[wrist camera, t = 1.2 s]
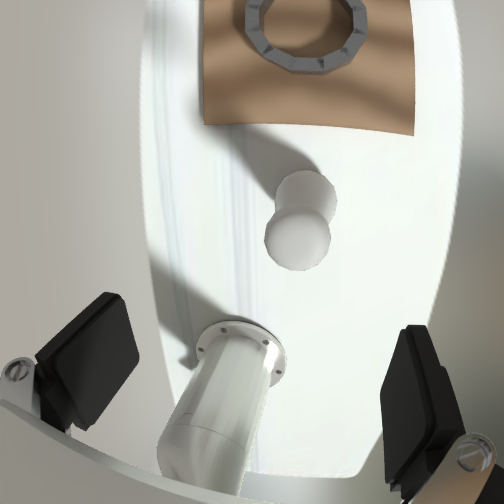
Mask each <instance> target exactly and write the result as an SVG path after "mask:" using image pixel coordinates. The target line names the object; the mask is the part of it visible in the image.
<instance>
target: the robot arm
mask: <svg viewBox="0 0 504 504" xmlns="http://www.w3.org/2000/svg"><path fill="white" fill-rule="evenodd" d="M196 354H197V358H198V360H199V364H198V366H197V368H196V370H195V371H194V373H193V375H192V377H191V379H190V381H189V383H188V385H187V387H186V389H185V391H184V392H183V394H182V396H181V398H180V400H179V402H178V404H177V406H176V408H175V410H174V412H173V413H172V415H171V417H170V419H169V421H168V423H167V425H166V427H165V429H164V431H163V433H162V435H161V436H160V439H159V441H158V445H157V460H158V464H159V467H160V470H161V473H162V476H160V475H157V474H154V473H151V472H149V471H146V470H143V469H140V468H138V467H135V466H133V465H130V464H128V463H125V462H123V461H121V460H118V459H116V458H114V457H111V456H109V455H107V454H105V453H102V452H100V451H98V450H96V449H94V448H92V447H90V446H88V445H86V444H84V443H82V442H80V441H78V440H76V439H74V438H72V437H71V428H70V425H71V424H72V423H74V425H75V426H76V427H78V428H80V429H83V430H84V431H87V429H88V428H89V427H90V425H93V424H95V422H96V421H97V419H98V418H99V417H100V415H101V414H102V413H103V411H104V410H105V408H106V407H107V406H108V404H109V403H110V401H111V400H112V398H113V397H114V396H115V394H116V393H117V392H118V390H119V389H120V387H121V386H122V385H123V383H124V382H125V381H126V379H127V377H129V375H130V374H131V372H132V371H133V370H134V368H135V367H136V366H137V364H138V362H139V352H138V349H137V346H136V342H135V339H134V335H133V332H132V328H131V324H130V321H129V317H128V313H127V309H126V305H125V302H124V300H123V299H122V298H121V296H120V295H119V294H115V293H110V292H104V293H102V294H101V295H100V296H99V297H98V298H97V299H96V300H94V301H93V302H92V303H91V304H90V305H89V306H88V307H86V308H85V309H84V310H83V311H82V312H81V313H80V314H79V315H77V317H75V318H74V319H73V320H72V321H71V322H70V323H69V324H67V325H66V326H65V327H64V328H63V329H62V330H61V331H60V332H59V333H58V334H57V335H56V336H55V337H53V338H52V339H51V340H50V341H49V342H48V343H47V344H46V345H45V346H44V347H43V348H42V349H41V350H40V351H39V352H38V353H37V354H36V355H35V358H36V360H37V362H38V363H37V364H36V365H35V364H34V362H33V361H32V360H31V359H29V358H27V357H19V358H16V359H14V360H12V361H10V362H9V363H8V364H7V365H6V366H5V367H4V368H3V371H2V373H1V377H0V504H282V503H274V502H267V501H261V500H255V499H249V498H244V497H239V494H240V490H241V486H242V483H243V479H244V476H245V472H246V469H247V466H248V462H249V458H250V455H251V452H252V449H253V445H254V442H255V438H256V434H257V431H258V427H259V423H260V420H261V416H262V412H263V409H264V405H265V401H266V397H267V393H268V389H269V387H272V386H274V385H275V384H276V383H278V382H279V381H280V380H281V378H282V377H283V375H284V373H285V369H286V355H285V351H284V349H283V348H282V346H281V344H280V343H279V342H278V341H277V339H276V338H274V337H273V336H272V335H271V334H270V333H268V332H267V331H265V330H263V329H262V328H260V327H257V326H255V325H253V324H249V323H245V322H240V321H223V322H218V323H216V324H213V325H211V326H209V327H208V328H206V329H205V330H204V331H203V333H202V334H201V335H200V337H199V339H198V341H197V345H196ZM380 403H381V414H382V427H383V441H384V462H385V482H386V483H387V484H388V483H390V491H391V492H394V491H401V498H402V499H403V501H402V502H401V503H400V504H504V469H503V468H502V467H500V466H498V465H497V464H495V461H496V450H495V447H494V445H493V444H492V442H491V441H490V440H489V439H488V438H487V437H485V436H484V435H481V434H478V433H468V434H466V432H465V428H464V425H463V421H462V417H461V414H460V410H459V407H458V404H457V400H456V397H455V394H454V391H453V388H452V385H451V382H450V379H449V376H448V373H447V370H446V368H445V367H443V366H441V365H440V363H439V360H438V357H437V354H436V352H435V348H434V346H433V343H432V340H431V338H430V335H429V333H428V330H427V328H426V326H425V325H408V326H407V327H406V329H402V330H401V331H400V334H399V337H398V341H397V344H396V347H395V350H394V353H393V356H392V359H391V362H390V365H389V368H388V371H387V374H386V376H385V379H384V382H383V385H382V387H381V391H380Z"/></svg>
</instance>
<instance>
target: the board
mask: <svg viewBox="0 0 504 504" xmlns="http://www.w3.org/2000/svg"><path fill="white" fill-rule="evenodd" d="M248 1H249V0H204V37H203V93H204V125H209V124H300V125H318V126H333V127H345V128H355V129H365V130H374V131H382V132H389V133H397V134H403V135H410V136H414V123H415V56H414V39H413V26H412V16H411V7H410V0H361V1H362V2H363V4H364V5H365V7H366V10H367V24H368V36H367V38H366V40H365V42H364V44H363V45H362V47H361V48H360V50H359V51H358V53H357V54H356V56H355V57H354V59H353V60H352V62H351V63H350V64H348V65H346V66H344V67H342V68H340V69H337V70H335V71H333V72H331V73H329V74H327V75H324V76H320V75H293V74H291V73H289V72H287V71H286V70H284V69H282V68H280V67H278V66H276V65H274V64H272V63H270V62H268V61H266V60H265V59H264V58H263V57H262V56H261V54H260V53H259V51H258V50H257V48H256V47H255V45H254V44H253V42H252V41H251V39H250V38H249V37H248V35H247V34H246V32H245V5H246V4H247V2H248ZM264 35H265V37H266V38H267V39H268V41H269V42H270V44H271V45H272V47H275V48H277V49H279V50H281V51H283V52H285V53H287V54H289V55H291V56H292V57H304V58H321V57H323V56H325V55H328V54H330V53H332V52H334V51H337V50H339V49H341V48H342V47H343V46H344V44H345V43H346V41H347V40H348V38H349V37H350V35H351V18H350V16H349V15H348V14H347V12H346V11H345V9H344V8H343V7H342V5H341V4H340V3H339V1H337V0H275V1H274V2H273V4H272V5H271V7H270V8H269V10H268V11H267V13H266V14H265V16H264Z"/></svg>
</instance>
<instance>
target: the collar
mask: <svg viewBox="0 0 504 504" xmlns="http://www.w3.org/2000/svg"><path fill="white" fill-rule="evenodd" d="M274 1H275V0H249V1H248V2H247V4H246V5H245V32H246V34H247V35H248V37H249V38H250V39H251V41H252V42H253V44H254V45H255V47H256V48H257V50H258V51H259V53H260V54H261V56H262V57H263V58H264V59H265V60H266V61H268V62H270V63H272V64H274V65H276V66H278V67H280V68H282V69H284V70H286V71H287V72H289V73H291V74H293V75H320V76H324V75H327V74H329V73H331V72H333V71H335V70H337V69H340V68H342V67H344V66H346V65H348V64H350V63H351V62H352V60H353V59H354V57H355V56H356V54H357V53H358V51H359V50H360V48H361V47H362V45H363V44H364V42H365V40H366V38H367V36H368V24H367V10H366V7H365V5H364V4H363V2H362V1H361V0H337V1H339V3H340V4H341V5H342V7H343V8H344V9H345V11H346V12H347V14H348V15H349V16H350V18H351V35H350V37H349V38H348V40H347V41H346V43H345V44H344V46H343V47H342V48H341V49H339V50H337V51H334V52H332V53H330V54H328V55H325V56H323V57H321V58H304V57H292V56H291V55H289V54H287V53H285V52H283V51H281V50H279V49H277V48H275V47H272V45H271V44H270V42H269V41H268V39H267V38H266V37H265V35H264V16H265V14H266V13H267V11H268V10H269V8H270V7H271V5H272V4H273V2H274Z"/></svg>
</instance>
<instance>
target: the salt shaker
mask: <svg viewBox="0 0 504 504" xmlns="http://www.w3.org/2000/svg"><path fill="white" fill-rule="evenodd" d="M336 205H337V196H336V192H335V188H334V186H333V185H332V184H331V183H330V182H329V180H328V179H327V178H326V177H325V176H323V175H321V174H319V173H317V172H315V171H312V170H303V171H296V172H294V173H292V174H290V175H288V176H286V177H284V179H283V180H282V182H281V183H280V185H279V186H278V188H277V191H276V197H275V213H274V215H273V216H272V218H271V219H270V220H269V222H268V223H267V225H266V231H265V237H264V243H265V246H266V249H267V252H268V254H269V256H270V257H271V258H272V259H273V260H274V261H275V262H276V263H277V264H278V265H279V266H282V267H284V268H286V269H289V270H299V271H305V270H307V269H310V268H312V267H314V266H316V265H318V264H319V263H320V262H321V260H322V259H323V258H324V257H325V256H326V255H327V253H328V249H329V245H330V241H331V234H330V230H329V226H328V225H329V223H330V221H331V220H332V218H333V216H334V214H335V210H336Z"/></svg>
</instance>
